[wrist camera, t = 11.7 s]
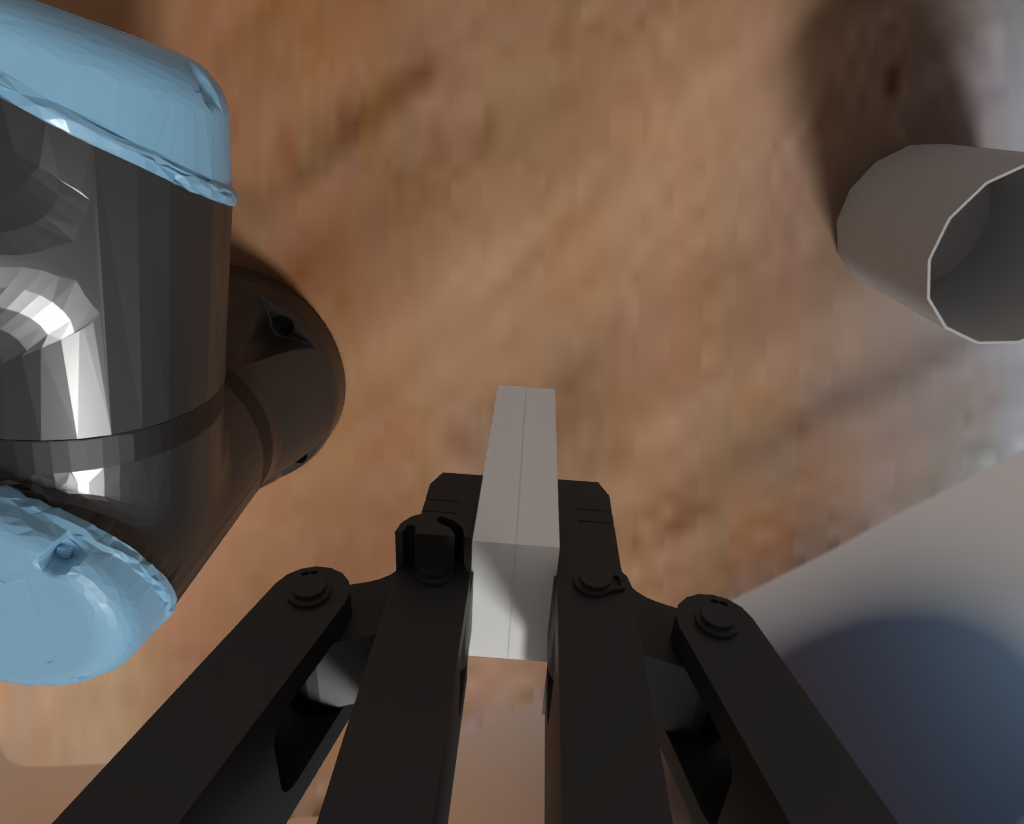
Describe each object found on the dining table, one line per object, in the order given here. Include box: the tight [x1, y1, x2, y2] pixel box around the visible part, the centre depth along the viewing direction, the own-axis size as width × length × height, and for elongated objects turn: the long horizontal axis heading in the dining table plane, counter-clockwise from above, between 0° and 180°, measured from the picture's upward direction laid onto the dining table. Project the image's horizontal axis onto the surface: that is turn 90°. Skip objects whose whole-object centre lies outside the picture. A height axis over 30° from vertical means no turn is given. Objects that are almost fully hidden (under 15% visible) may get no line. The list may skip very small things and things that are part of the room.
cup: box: [836, 144, 1024, 344], centre depth 33 cm, size 8×8×10 cm
